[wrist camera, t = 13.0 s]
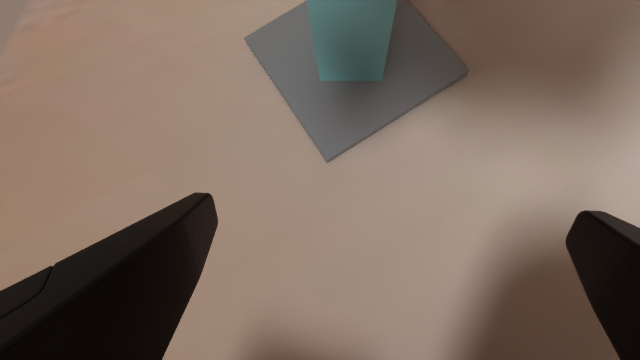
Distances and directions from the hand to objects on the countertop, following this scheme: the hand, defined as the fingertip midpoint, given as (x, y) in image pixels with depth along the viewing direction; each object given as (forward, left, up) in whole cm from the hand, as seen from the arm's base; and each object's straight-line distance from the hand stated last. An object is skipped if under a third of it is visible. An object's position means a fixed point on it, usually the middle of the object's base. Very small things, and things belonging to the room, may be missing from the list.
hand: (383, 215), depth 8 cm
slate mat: (+12, -7, -14) cm, 19 cm away
